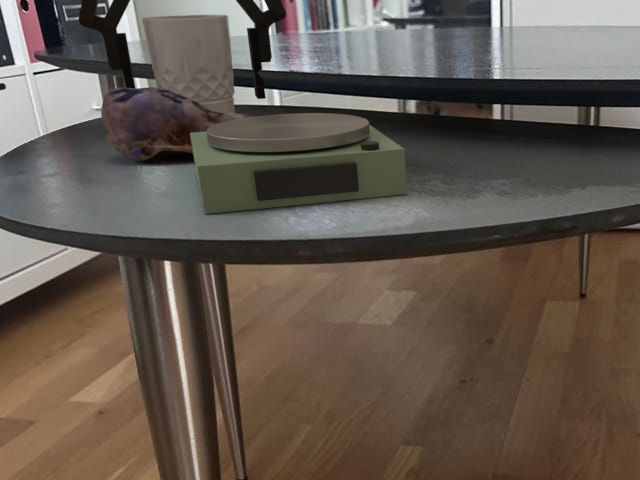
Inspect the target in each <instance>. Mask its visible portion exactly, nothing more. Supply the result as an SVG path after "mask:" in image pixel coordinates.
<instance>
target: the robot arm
mask: <svg viewBox="0 0 640 480" xmlns="http://www.w3.org/2000/svg"><path fill="white" fill-rule="evenodd" d="M99 1H100V0H81V4H80V8H79V9H80V10H79V15H78V22H79V24H80V26H82V27H84V28H88V29H90V30H94V31H97V32H99V33H100V34H101V36H102V37H103V43H104V47H105V52H106V53H105V54H106V58H107V63H108V66H109V68H110V70H112V71H122V75H123V79H124V85H125V88H136V83H135V78H134V71H133V66H132V61H131V55H130V49H129V44H128V38H127V33H126V32H118V30H117V28H118V26H119V24H120V22H121V20H122V18H123V16H124V14H125V12H126V10H127V8H128V6H129V4H130V2H131V0H112V2H111V4H110V6H109V8H108V10H107V12H106V14H105V16H104V17H103V16H100V15H97V12H98V6H99ZM263 1H264V3H265V5H266V7H267V10H264V11H262V10H261V8H260V7H259V6H258V4H257V3H256V2H255V0H235V2H236V3H237V4H238V5H239V6H240V8H241V9H242V10H243V11H244V13H245V14H246V15H247V17H248V18H249V19H250V20H251V22H252V23H253V25H254V26H253V27H247V28H246V33H247V40H248V48H249V55H250V57H249V58H250V64H251V70H252V69H253V70H254V75H255V77H254V81H253V89H254V96H255V97H256V99H257V100H264V99H266V97H267V96H266V91H265V90H266V89H265V83H264V82H265V81H264V78H263V79H262V78H261V77H260V76H259V74H258V73H257V72H258V71H259V70H262V71H263V65H262V63H271V62H272V58H273V55H272V46H271V45H272V44H271V38H270V28H271V26H272V25H273V24H275V23H278V22H280V21H283V20H284V19H286V17H287V11H286V9H285V7H284V5H283V3H282V1H281V0H263ZM254 87H256V88H254ZM258 87H264V88H258ZM6 89H7V85H6V83H3V82H0V91H5V90H6Z"/></svg>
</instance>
